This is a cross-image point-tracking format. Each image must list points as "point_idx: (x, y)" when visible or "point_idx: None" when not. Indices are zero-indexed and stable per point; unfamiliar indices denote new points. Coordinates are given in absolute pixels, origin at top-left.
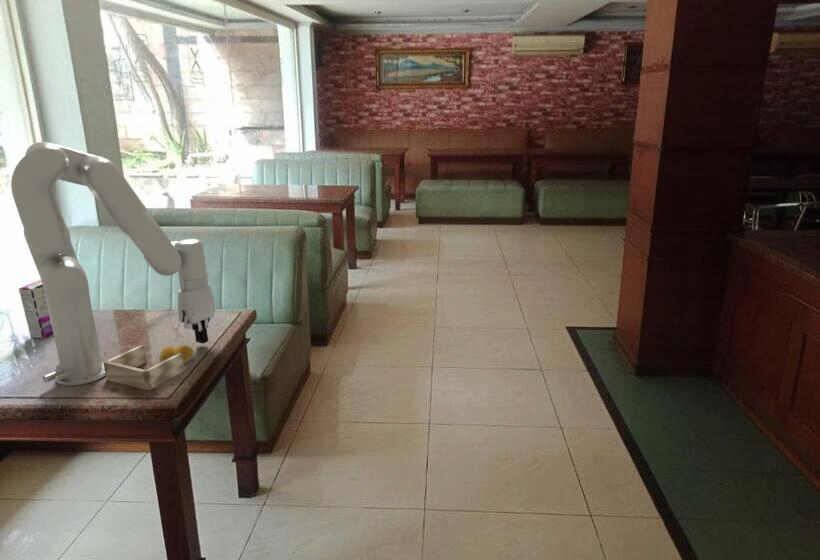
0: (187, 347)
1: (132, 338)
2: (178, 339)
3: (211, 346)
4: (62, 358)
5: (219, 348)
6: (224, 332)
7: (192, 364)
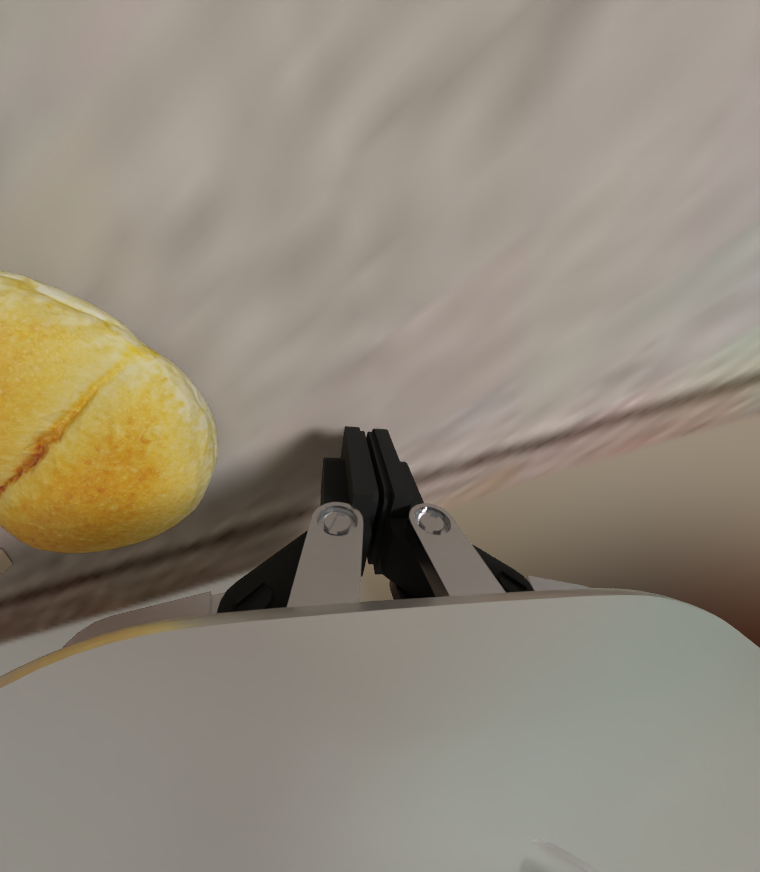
0: (115, 539)
1: None
2: (441, 118)
3: None
4: None
5: None
6: (566, 434)
7: None
